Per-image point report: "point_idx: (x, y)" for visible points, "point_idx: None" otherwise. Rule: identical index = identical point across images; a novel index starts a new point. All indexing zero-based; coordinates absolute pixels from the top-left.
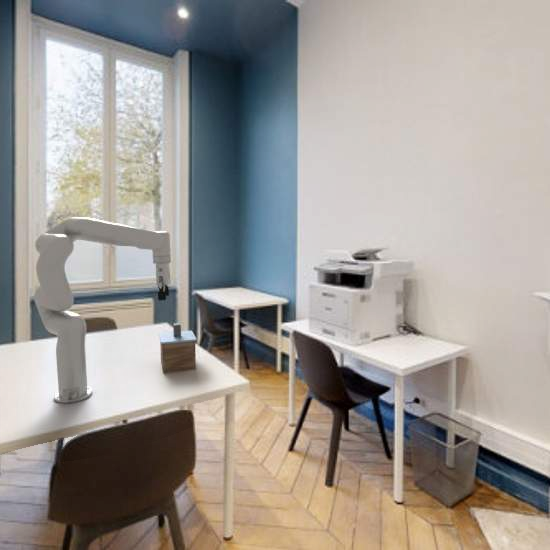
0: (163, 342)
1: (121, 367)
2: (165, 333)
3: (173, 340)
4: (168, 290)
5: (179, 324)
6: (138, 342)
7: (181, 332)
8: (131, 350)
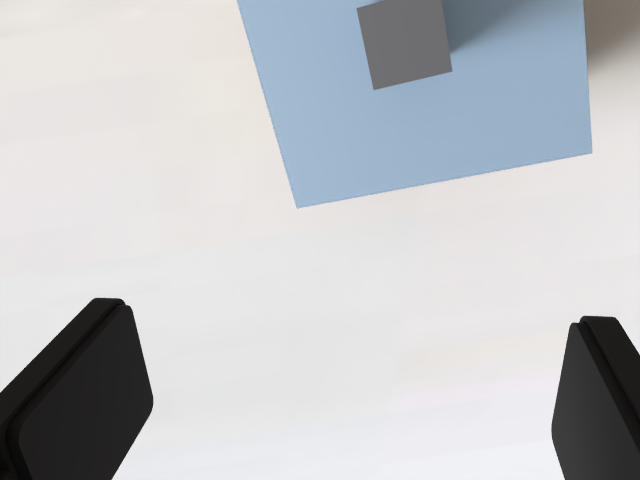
0: (590, 132)
1: (397, 318)
2: (309, 154)
3: (557, 46)
4: (56, 365)
5: (423, 4)
6: (22, 301)
7: (281, 6)
8: (148, 314)
